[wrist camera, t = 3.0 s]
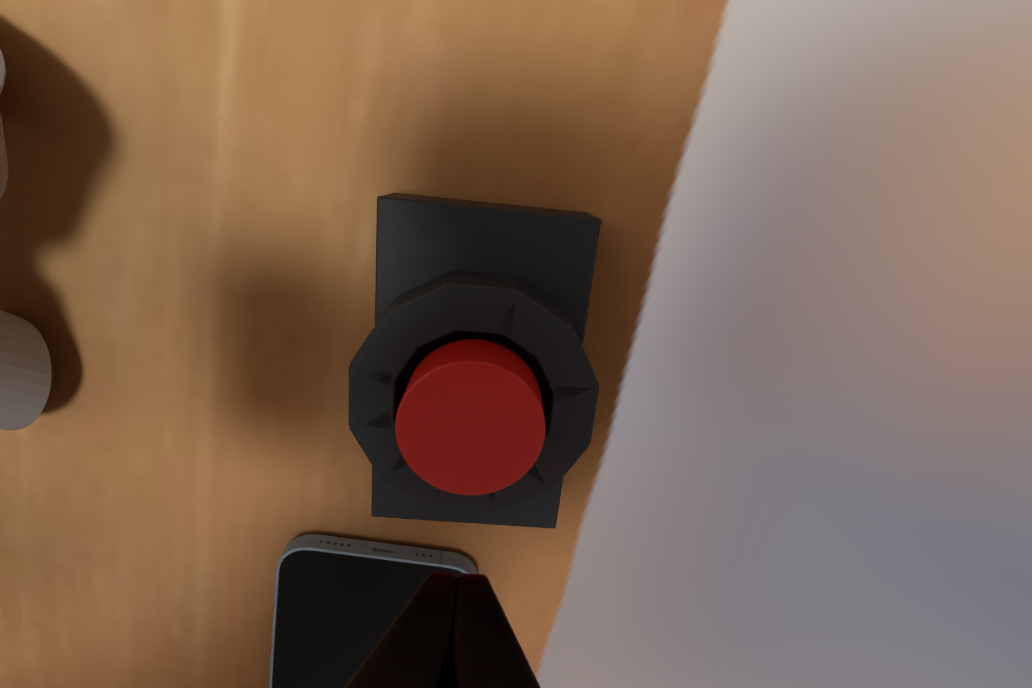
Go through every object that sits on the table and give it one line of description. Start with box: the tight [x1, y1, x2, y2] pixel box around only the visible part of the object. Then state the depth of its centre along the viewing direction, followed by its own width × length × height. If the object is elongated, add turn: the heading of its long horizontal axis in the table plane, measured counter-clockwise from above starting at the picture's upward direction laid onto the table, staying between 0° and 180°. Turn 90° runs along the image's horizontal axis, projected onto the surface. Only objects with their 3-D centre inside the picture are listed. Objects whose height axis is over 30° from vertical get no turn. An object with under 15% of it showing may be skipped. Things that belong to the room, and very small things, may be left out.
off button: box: [395, 339, 546, 495], centre depth 13 cm, size 4×4×2 cm
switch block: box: [349, 193, 601, 528], centre depth 16 cm, size 10×6×4 cm, turn 174°
